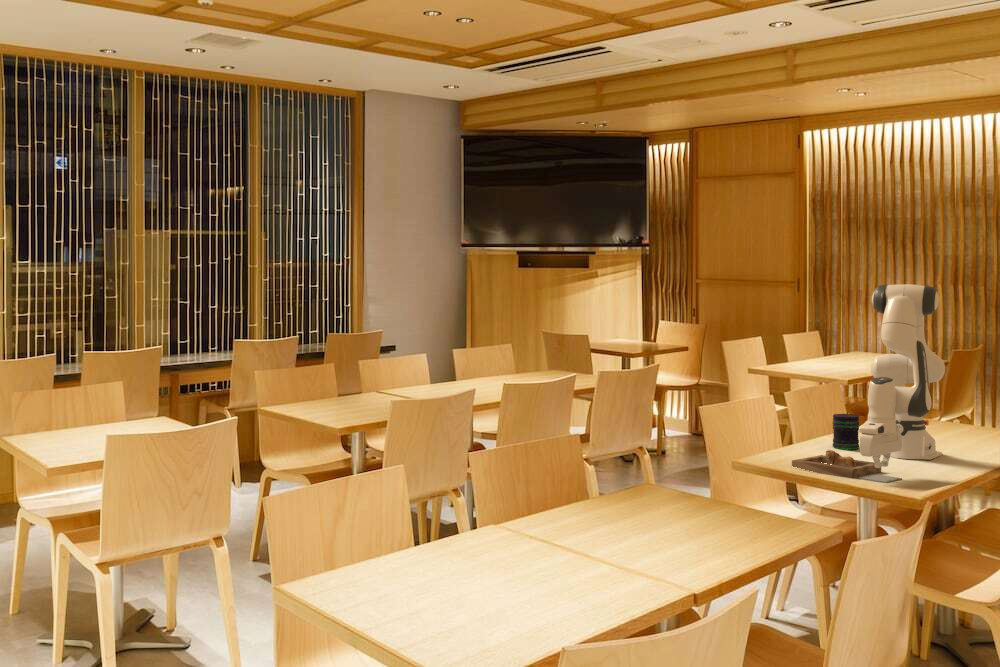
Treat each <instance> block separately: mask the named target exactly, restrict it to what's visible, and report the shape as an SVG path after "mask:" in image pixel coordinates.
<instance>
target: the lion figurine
mask: <svg viewBox="0 0 1000 667" xmlns="http://www.w3.org/2000/svg"><path fill="white" fill-rule="evenodd" d="M824 456H825V457H826V459H827V460H828V461H829V462H830V463H831V464H834V465H837V466H838V464H840V465H845V464H848V465H849V467H851V468H853V467H854V466H853V462H854V465H855V467H856V463H855V460H856V459H854V457H852V456H842V455H840V453H838V452H836V451H835V450H832V449H828V450H826V451H825V455H824Z"/></svg>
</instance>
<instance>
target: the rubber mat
mask: <svg viewBox="0 0 1000 667" xmlns="http://www.w3.org/2000/svg"><path fill="white" fill-rule="evenodd" d="M857 479H858V480H863V481H871V482H877V483H882V484H887V483H888V484H889V483H891V482H897V481H900V480H901V481H902V480H903V478H902V477H896V476H890V475H883V474H879V473H875V474H870V475H865V476H861V477H857Z"/></svg>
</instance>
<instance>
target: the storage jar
mask: <svg viewBox="0 0 1000 667" xmlns="http://www.w3.org/2000/svg"><path fill="white" fill-rule="evenodd" d="M832 417H833V418H832V429H833V438H832V447H834V449H837V450H841V451H857V450H860V439H859V427H860V422H859V421H860V419H859V418H860V415H858V414H851V413H836V414H835V413H834V414H833V415H832Z"/></svg>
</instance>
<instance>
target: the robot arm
mask: <svg viewBox="0 0 1000 667" xmlns="http://www.w3.org/2000/svg"><path fill="white" fill-rule="evenodd" d="M871 302H872V307H873V309H874V310H875V311H876V312H877V313H880V314H882V315H883V316H882V322H881V330H880V339H881V342H882V343H883V345H884V346H885V348H887V349H888V350H890V351H892V353H885V354H878V355H875V357H874V358H873V359H872V361H871V364H870V373H871V374H872V375H871V376H873V378H872V379H871V380H870V382H869V385H868V390H867V407H868V414H867V420H866V421H865V422H864V423H862V424H861V425H859V430H858V433H860V436H859V453H860V456H862V457H868V458H872V460H873V462H874V463H875V468H881V469H882V467H883V468H885V467H889V461H890V458H896V459H902V460H903V459H905V460H932V459H933V460H934V459H935V458H937V457H940V456H942V455H943V452H942V451H938V450H936V448H937V447H936V440H935V438H934V437H933V436H932V435H931V434H930V432H928V431H927V430H926V426H929V424H930V420H928V419H924V416H925V415H927V414H928V413H929V412H930V411H931V409H932V397H931V393H930V385H929V383H930V384H931V383H936V382H940V381H941V380H942V379H943V377H944V375H945V372H946V365H945V362H944V361H943V359H942V358H941V356H939V355H937V354H935V353H934V352H933V351H932V349H930V347H929V346H928V344H927V342H926V336H925V316H929V315H932V314H934V313H935V312H936V310H937V309H938V306H939V303H940V296H939V294H938V290H937V289H936V288H935V287H934V286H932V285H931V286H930V285H926V284H925V285H920V284H912V283H911V284H909V283H906V284H886V283H885V284H880V285H877V286H876V287H875V288H874V291H873V294H872V296H871ZM908 383H909V384H913V385H912V386H906V384H908ZM881 455H882V456H883V457H882V460H881Z"/></svg>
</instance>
